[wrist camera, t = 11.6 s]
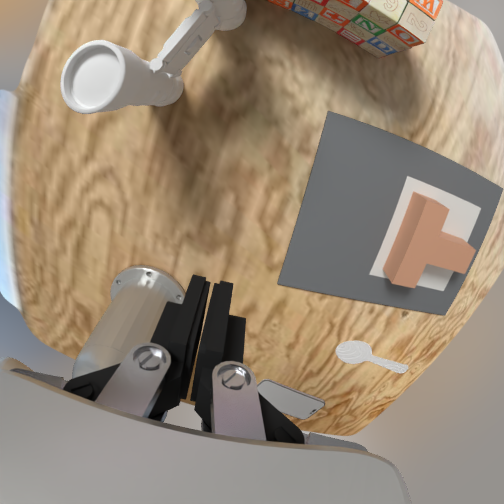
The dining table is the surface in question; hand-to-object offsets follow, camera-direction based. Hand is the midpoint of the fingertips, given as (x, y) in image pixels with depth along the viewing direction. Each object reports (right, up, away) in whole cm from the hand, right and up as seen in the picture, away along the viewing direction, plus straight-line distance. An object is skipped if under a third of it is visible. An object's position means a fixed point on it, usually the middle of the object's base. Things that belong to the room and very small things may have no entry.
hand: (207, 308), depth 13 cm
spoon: (+24, -17, +38) cm, 48 cm away
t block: (+28, +4, +27) cm, 39 cm away
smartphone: (+9, -26, +44) cm, 52 cm away
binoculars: (-5, +26, +18) cm, 32 cm away
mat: (+23, +5, +27) cm, 36 cm away
